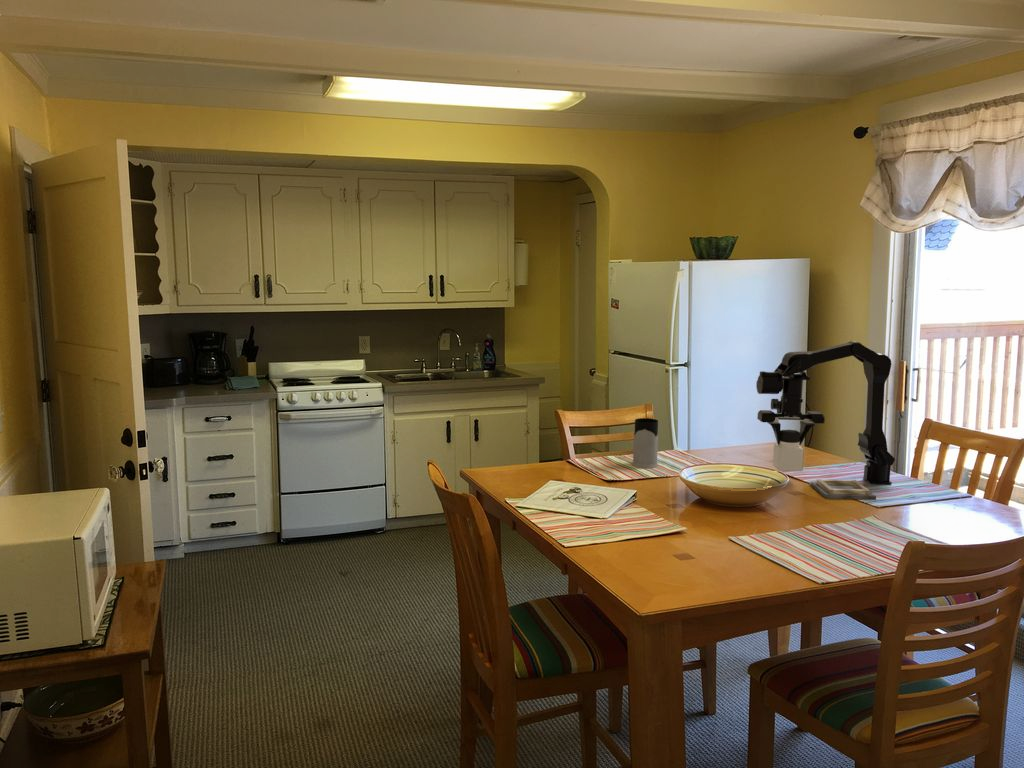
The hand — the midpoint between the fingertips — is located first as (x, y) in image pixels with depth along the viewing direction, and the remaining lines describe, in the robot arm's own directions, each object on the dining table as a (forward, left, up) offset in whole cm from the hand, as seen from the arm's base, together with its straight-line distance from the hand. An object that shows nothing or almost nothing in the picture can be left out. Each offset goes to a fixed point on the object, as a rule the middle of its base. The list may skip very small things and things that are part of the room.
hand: (789, 444), depth 251 cm
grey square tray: (-13, +11, -12) cm, 21 cm away
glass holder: (+41, -19, -12) cm, 47 cm away
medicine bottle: (0, 0, -8) cm, 8 cm away
